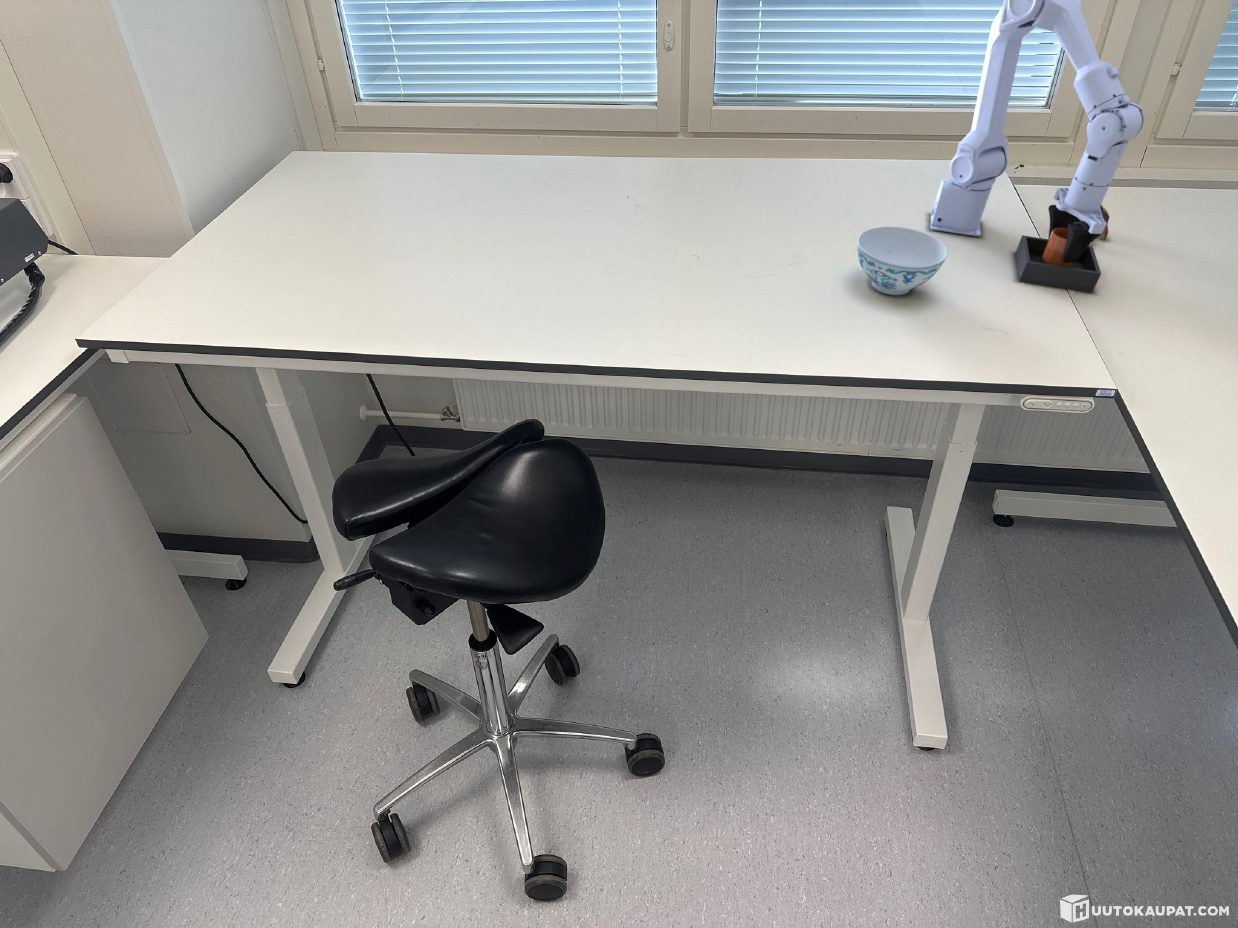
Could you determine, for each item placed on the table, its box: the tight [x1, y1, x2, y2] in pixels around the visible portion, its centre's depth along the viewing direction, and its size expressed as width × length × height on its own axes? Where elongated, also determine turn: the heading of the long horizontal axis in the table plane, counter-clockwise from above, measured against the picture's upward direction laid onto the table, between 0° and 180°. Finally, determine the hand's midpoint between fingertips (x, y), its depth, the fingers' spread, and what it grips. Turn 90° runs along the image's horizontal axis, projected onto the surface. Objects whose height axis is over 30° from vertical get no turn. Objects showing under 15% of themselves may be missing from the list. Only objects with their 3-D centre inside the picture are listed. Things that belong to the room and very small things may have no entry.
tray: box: [1014, 235, 1102, 294], centre depth 147 cm, size 12×11×4 cm
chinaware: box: [856, 226, 948, 296], centre depth 140 cm, size 15×15×8 cm
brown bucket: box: [1042, 227, 1075, 267], centre depth 145 cm, size 6×6×6 cm
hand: (1060, 253), depth 146 cm, fingers closed on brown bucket, 5 cm apart
